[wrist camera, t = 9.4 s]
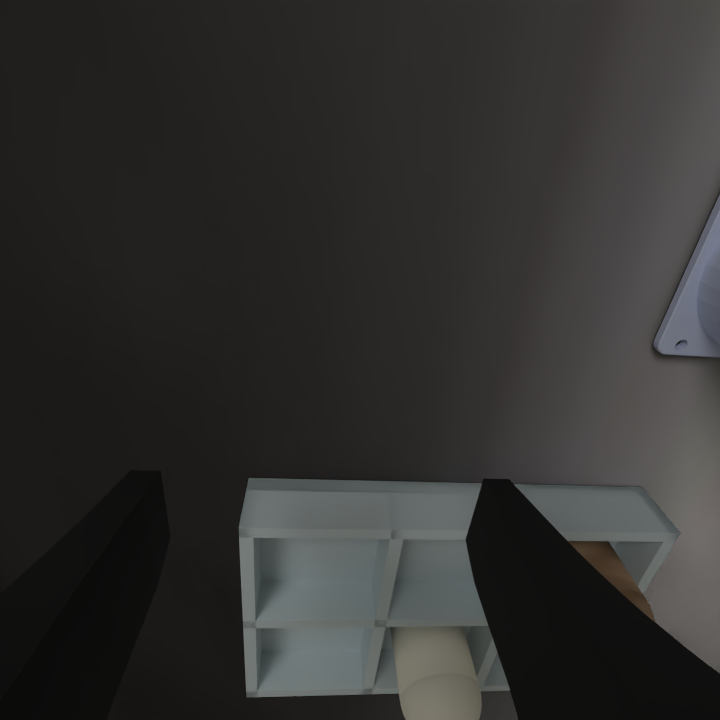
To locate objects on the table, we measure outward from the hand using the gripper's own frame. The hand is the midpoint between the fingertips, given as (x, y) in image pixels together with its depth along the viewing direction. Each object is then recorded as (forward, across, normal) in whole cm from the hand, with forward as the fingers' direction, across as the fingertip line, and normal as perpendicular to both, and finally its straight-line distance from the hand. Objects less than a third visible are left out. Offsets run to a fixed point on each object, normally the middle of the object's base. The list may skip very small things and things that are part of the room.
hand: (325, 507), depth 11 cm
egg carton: (+9, -7, +15) cm, 19 cm away
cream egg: (+9, -7, +18) cm, 21 cm away
